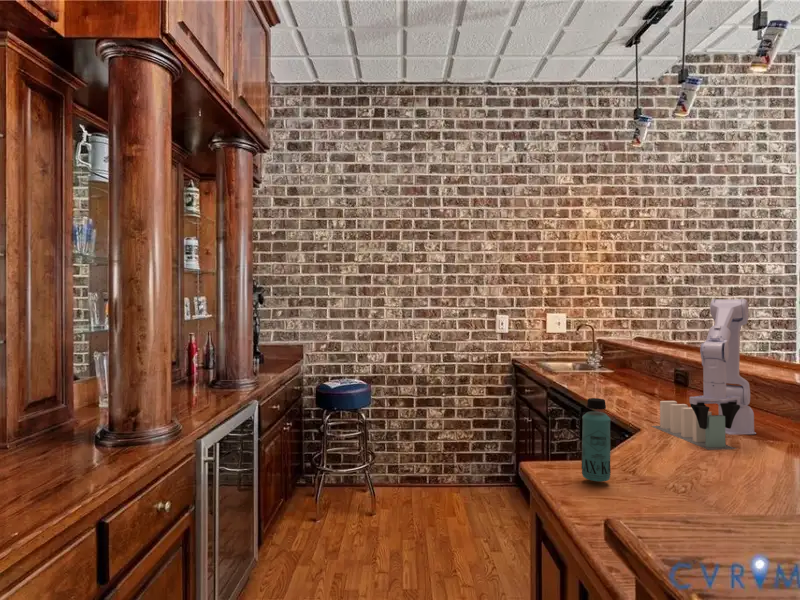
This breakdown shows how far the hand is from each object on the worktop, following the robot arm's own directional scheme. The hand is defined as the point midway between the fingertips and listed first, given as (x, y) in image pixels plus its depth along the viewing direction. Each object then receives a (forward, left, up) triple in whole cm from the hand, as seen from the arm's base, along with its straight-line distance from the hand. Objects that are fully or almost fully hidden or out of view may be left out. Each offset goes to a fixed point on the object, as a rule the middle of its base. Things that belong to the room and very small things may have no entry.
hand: (715, 428), depth 146 cm
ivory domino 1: (0, -22, -5) cm, 23 cm away
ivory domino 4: (0, -5, -5) cm, 8 cm away
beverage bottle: (+49, +25, -6) cm, 55 cm away
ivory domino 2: (0, -16, -5) cm, 17 cm away
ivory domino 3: (0, -11, -5) cm, 12 cm away
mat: (0, -11, -6) cm, 12 cm away
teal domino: (0, 0, -5) cm, 5 cm away
